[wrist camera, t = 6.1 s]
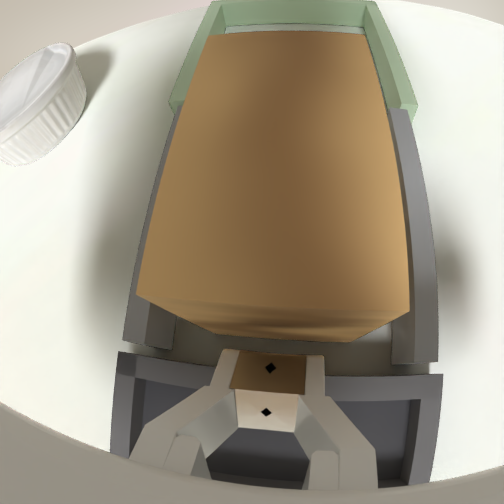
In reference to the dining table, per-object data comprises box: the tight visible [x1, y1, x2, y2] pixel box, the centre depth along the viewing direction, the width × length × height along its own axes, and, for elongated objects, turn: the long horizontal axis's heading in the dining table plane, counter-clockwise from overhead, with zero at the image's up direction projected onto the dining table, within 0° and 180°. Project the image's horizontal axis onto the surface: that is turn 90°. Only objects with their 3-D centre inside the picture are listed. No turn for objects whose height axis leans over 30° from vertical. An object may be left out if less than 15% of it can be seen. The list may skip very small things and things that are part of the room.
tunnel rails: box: [122, 106, 438, 365], centre depth 14 cm, size 12×12×3 cm
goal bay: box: [168, 0, 418, 124], centre depth 19 cm, size 14×14×2 cm
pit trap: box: [110, 351, 443, 490], centre depth 12 cm, size 14×6×2 cm, turn 85°
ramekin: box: [0, 43, 87, 166], centre depth 20 cm, size 11×11×5 cm
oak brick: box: [136, 31, 410, 343], centre depth 12 cm, size 6×10×8 cm, turn 175°
